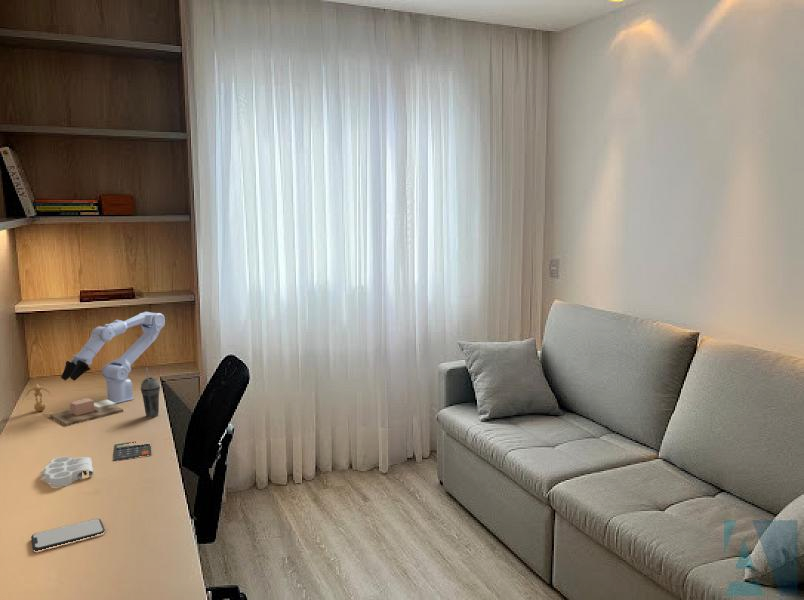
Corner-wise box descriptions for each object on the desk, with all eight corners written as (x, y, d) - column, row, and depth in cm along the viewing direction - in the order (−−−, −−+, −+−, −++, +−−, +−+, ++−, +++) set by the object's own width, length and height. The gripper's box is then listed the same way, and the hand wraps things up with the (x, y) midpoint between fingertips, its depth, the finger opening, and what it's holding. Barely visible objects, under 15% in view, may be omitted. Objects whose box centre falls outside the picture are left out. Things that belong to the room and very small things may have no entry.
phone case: (100, 522, 169) (31, 539, 160) (100, 517, 168) (30, 533, 160) (106, 537, 161) (34, 555, 153) (105, 531, 161) (33, 549, 152)
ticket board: (105, 403, 267) (104, 396, 266) (123, 411, 257) (122, 404, 256) (49, 417, 250) (49, 409, 250) (66, 426, 240) (65, 418, 240)
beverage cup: (166, 414, 253) (162, 365, 250) (152, 419, 246) (148, 370, 243) (152, 411, 256) (149, 363, 253) (138, 417, 250) (134, 368, 246)
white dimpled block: (94, 482, 193) (39, 493, 186) (91, 461, 208) (40, 470, 201) (93, 471, 192) (37, 482, 185) (90, 451, 208) (39, 460, 201)
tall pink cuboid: (89, 408, 256) (88, 397, 256) (94, 411, 253) (93, 400, 252) (71, 413, 251) (70, 402, 250) (76, 415, 248) (75, 404, 247)
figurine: (52, 408, 261) (49, 380, 259) (50, 412, 256) (48, 384, 254) (29, 410, 258) (26, 382, 256) (27, 415, 253) (24, 386, 251)
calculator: (113, 459, 207) (114, 443, 221) (113, 462, 207) (115, 446, 221) (151, 454, 212) (150, 438, 225) (151, 456, 212) (150, 441, 225)
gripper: (72, 345, 260) (51, 373, 252) (89, 345, 251) (67, 373, 243) (86, 356, 264) (65, 383, 256) (103, 355, 255) (82, 383, 247)
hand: (67, 379), depth 250 cm, fingers open, 7 cm apart
